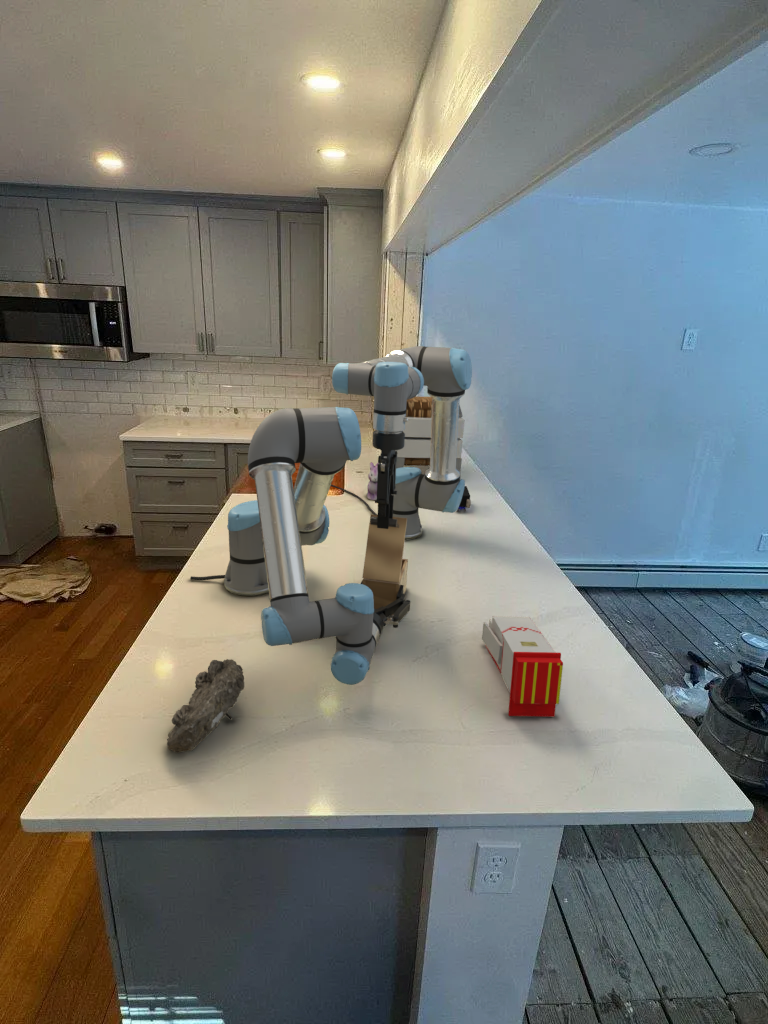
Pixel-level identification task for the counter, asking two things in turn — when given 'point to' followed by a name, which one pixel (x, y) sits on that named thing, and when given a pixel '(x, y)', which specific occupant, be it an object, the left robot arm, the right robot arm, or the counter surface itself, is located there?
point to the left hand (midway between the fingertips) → (382, 587)
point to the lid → (385, 550)
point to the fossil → (206, 705)
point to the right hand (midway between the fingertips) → (385, 523)
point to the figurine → (372, 482)
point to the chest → (387, 587)
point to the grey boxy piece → (422, 434)
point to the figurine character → (465, 500)
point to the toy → (525, 665)
